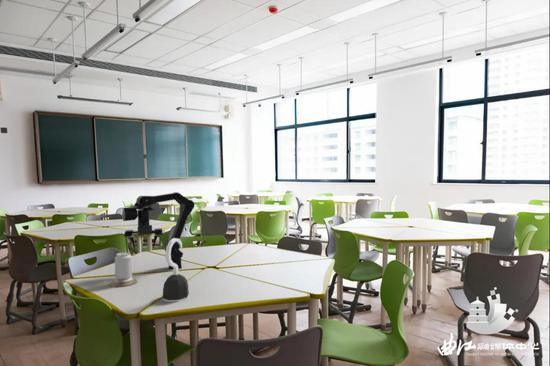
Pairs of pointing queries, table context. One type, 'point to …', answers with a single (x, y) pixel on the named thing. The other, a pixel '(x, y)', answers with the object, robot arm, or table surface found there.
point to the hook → (174, 279)
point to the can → (123, 266)
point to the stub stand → (123, 282)
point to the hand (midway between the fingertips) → (144, 248)
